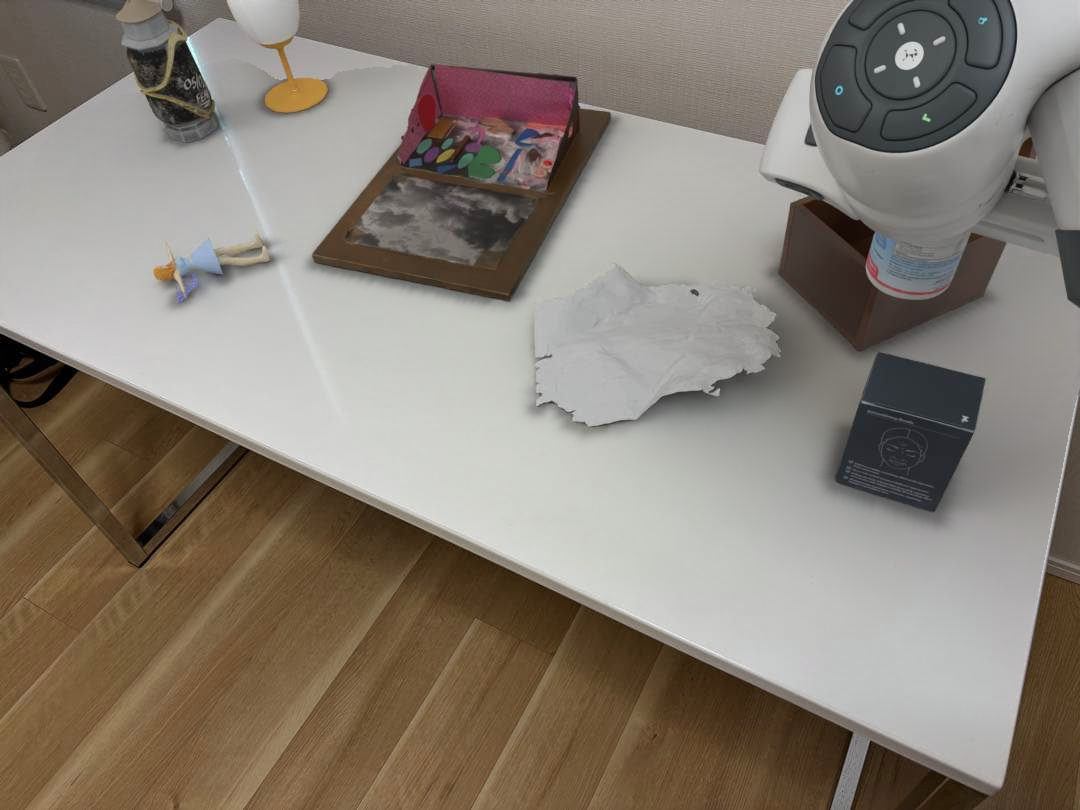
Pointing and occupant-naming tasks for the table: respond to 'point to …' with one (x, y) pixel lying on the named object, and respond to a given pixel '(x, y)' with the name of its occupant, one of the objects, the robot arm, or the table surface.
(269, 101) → the cup
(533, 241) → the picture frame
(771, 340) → the paper
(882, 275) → the pill bottle
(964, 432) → the box
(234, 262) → the fairy figurine
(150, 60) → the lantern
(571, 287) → the table surface
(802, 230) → the chest
